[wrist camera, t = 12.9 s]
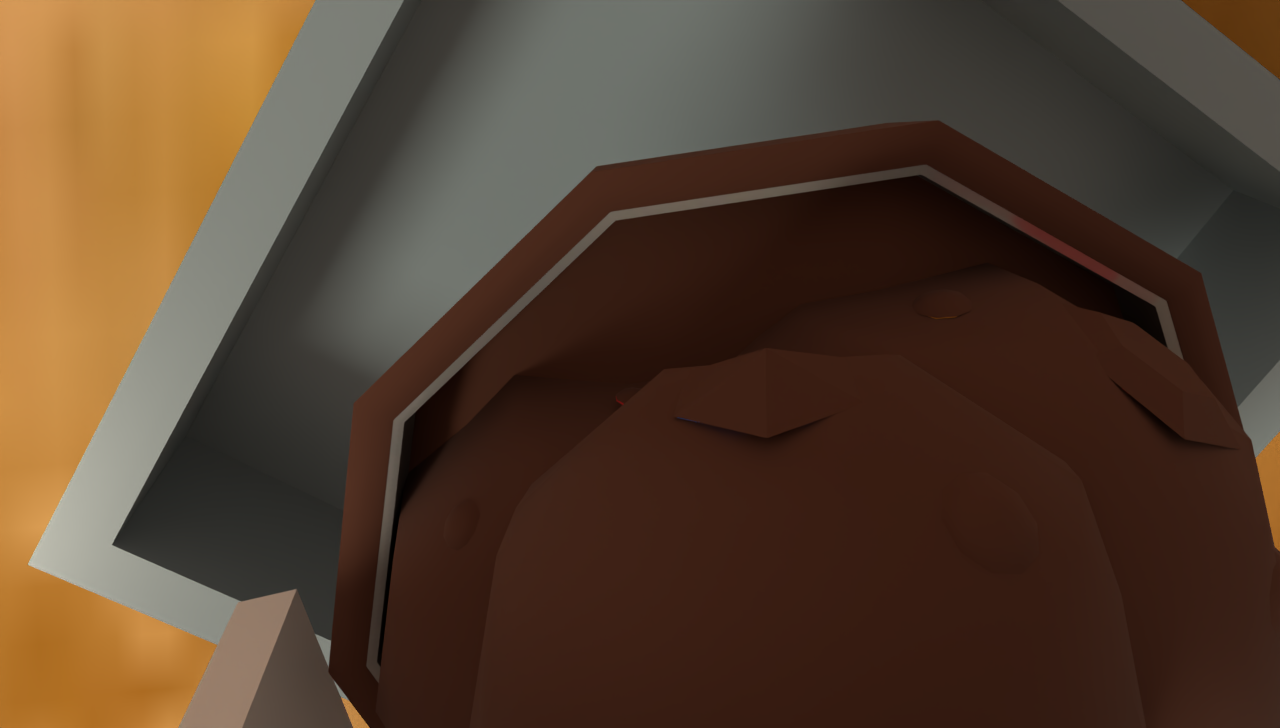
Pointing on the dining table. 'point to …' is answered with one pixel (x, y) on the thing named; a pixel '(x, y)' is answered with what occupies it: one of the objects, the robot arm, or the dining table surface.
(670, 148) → the charcoal tray
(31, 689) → the dining table surface
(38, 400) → the dining table surface
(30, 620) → the dining table surface
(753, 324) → the ice cream bowl
